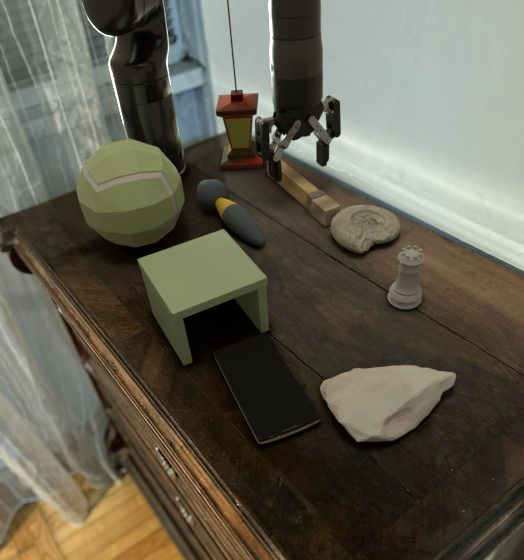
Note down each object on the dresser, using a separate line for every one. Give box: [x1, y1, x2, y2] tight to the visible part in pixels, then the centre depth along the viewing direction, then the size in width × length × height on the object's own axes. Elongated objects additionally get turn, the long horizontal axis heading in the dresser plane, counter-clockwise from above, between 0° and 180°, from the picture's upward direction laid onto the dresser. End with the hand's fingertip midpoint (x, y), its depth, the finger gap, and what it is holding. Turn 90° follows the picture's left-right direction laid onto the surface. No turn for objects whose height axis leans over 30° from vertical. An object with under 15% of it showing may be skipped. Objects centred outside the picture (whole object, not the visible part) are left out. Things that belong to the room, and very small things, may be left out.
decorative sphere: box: [75, 138, 186, 248], centre depth 82 cm, size 15×15×15 cm
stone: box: [319, 364, 457, 443], centre depth 60 cm, size 11×4×15 cm
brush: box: [266, 158, 341, 227], centre depth 92 cm, size 20×3×3 cm, turn 28°
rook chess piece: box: [387, 244, 425, 311], centre depth 71 cm, size 4×4×8 cm
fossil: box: [330, 204, 401, 255], centre depth 83 cm, size 11×4×10 cm
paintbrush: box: [196, 178, 266, 247], centre depth 87 cm, size 20×5×5 cm, turn 38°
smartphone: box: [213, 332, 322, 445], centre depth 64 cm, size 7×1×15 cm
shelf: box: [136, 228, 270, 366], centre depth 70 cm, size 12×12×9 cm
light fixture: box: [215, 0, 264, 170], centre depth 93 cm, size 8×8×30 cm
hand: (299, 172), depth 91 cm, fingers open, 8 cm apart
